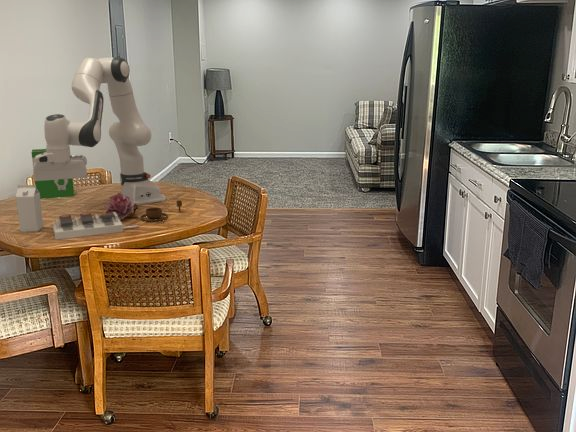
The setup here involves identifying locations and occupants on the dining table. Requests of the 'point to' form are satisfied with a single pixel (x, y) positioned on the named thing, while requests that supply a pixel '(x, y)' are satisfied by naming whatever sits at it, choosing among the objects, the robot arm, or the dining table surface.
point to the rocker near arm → (106, 216)
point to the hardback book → (52, 183)
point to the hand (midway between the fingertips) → (61, 189)
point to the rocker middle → (86, 218)
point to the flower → (121, 206)
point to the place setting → (157, 213)
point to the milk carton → (29, 208)
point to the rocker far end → (66, 220)
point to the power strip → (89, 227)
